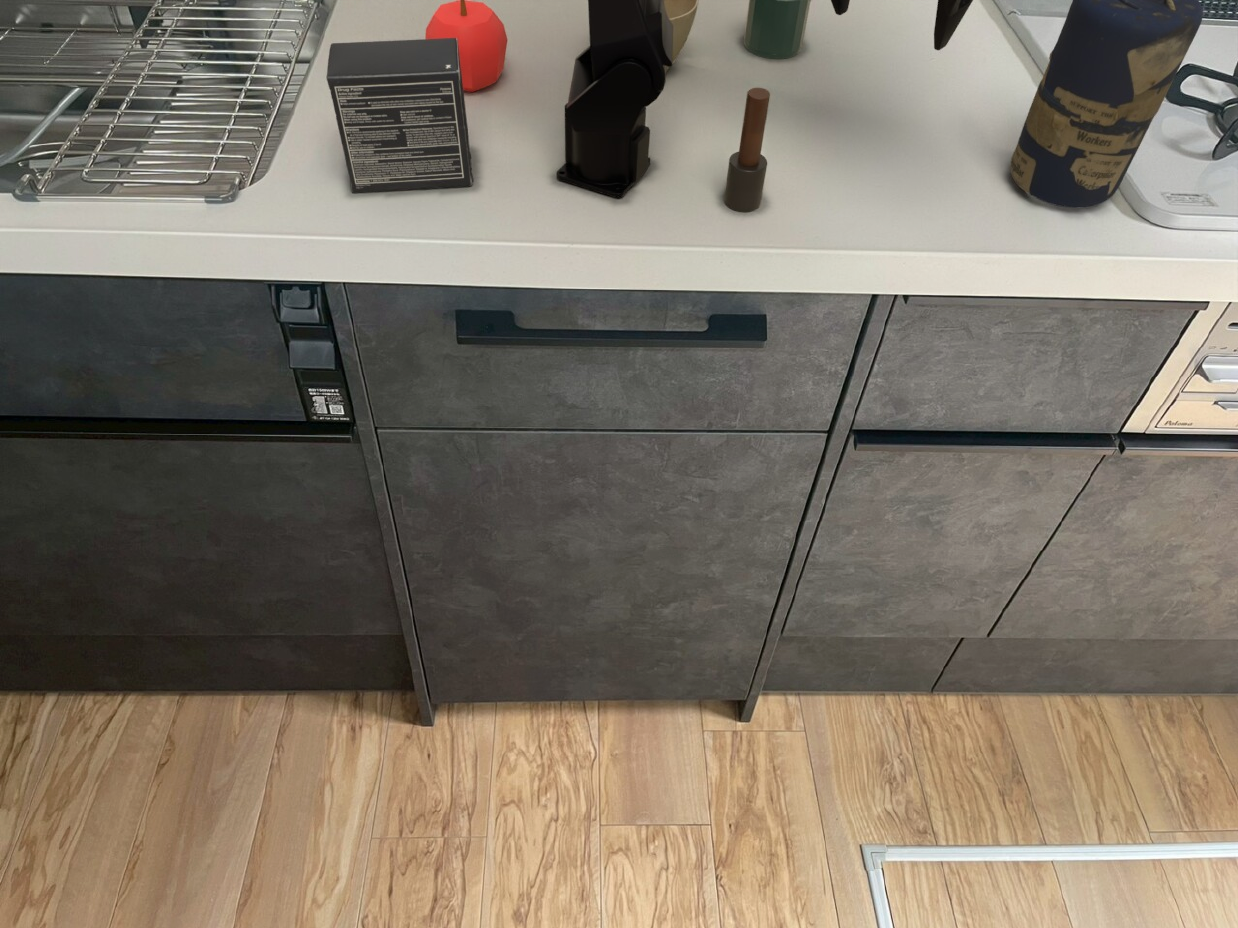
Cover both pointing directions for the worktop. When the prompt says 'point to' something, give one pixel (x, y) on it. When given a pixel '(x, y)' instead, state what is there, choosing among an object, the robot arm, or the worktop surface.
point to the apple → (472, 40)
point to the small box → (401, 114)
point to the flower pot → (680, 21)
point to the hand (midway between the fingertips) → (889, 30)
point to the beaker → (776, 27)
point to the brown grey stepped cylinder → (749, 156)
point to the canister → (1100, 96)
